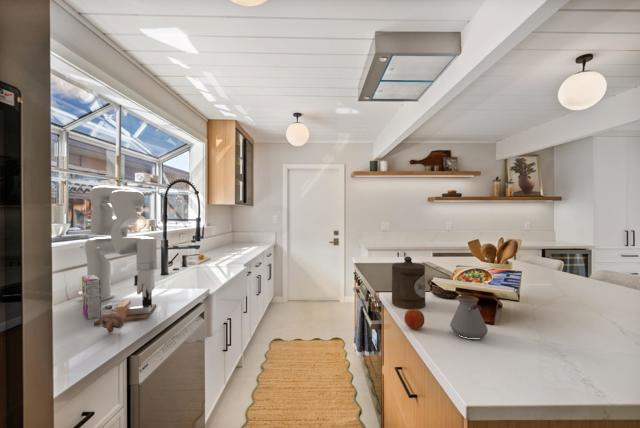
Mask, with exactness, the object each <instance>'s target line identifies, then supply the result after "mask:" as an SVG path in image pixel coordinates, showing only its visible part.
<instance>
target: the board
mask: <svg viewBox="0 0 640 428" xmlns="http://www.w3.org/2000/svg"><path fill="white" fill-rule="evenodd" d="M135 306H136V305H133V306H130V307H135ZM140 306H143V304H142V305H140ZM156 307H157V303H154V304H153V303H152V307H151V311H150V312H149V313H146V314H135V315H127V317H126V318H124V323H129V322H130V323H131V322H138V321H146V320H148V319H149V318H150V316H151V315H152V313H153V312H154V311H155V309H156ZM93 322H94V323H93V326H94V327H95V326H102V325H101V324H100V323H99V318H98V319H97V320H95V321H93Z"/></svg>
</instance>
